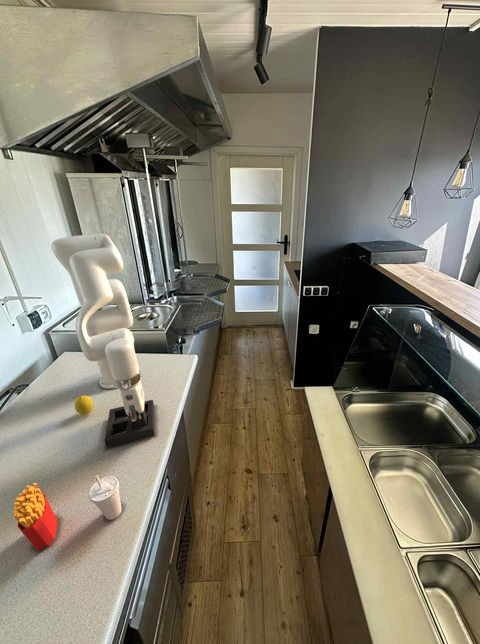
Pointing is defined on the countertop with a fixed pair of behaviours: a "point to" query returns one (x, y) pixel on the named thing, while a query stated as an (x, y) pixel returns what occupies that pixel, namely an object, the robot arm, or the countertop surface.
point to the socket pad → (128, 426)
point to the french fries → (35, 517)
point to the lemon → (84, 405)
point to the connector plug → (142, 416)
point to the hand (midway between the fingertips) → (139, 421)
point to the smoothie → (106, 496)
